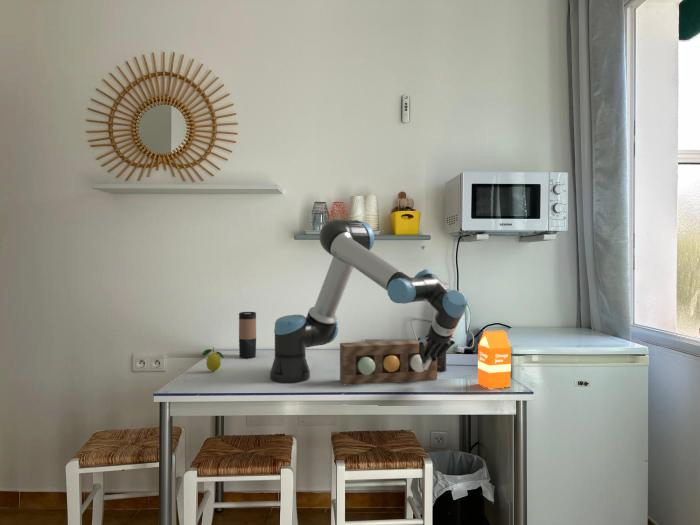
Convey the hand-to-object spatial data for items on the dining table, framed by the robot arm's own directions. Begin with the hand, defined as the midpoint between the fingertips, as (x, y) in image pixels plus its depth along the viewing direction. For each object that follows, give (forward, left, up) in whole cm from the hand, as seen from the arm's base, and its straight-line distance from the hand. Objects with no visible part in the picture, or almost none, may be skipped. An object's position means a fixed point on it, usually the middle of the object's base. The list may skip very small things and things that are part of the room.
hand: (424, 366), depth 185 cm
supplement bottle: (+14, +22, -7) cm, 27 cm away
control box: (-10, +11, -7) cm, 16 cm away
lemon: (-75, +37, -7) cm, 84 cm away
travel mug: (-61, +62, -7) cm, 87 cm away
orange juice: (+25, -4, -7) cm, 27 cm away
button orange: (-10, +9, -3) cm, 14 cm away
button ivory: (0, +6, -3) cm, 7 cm away
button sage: (-20, +6, -3) cm, 21 cm away
